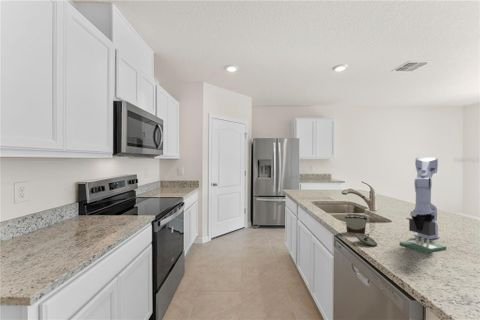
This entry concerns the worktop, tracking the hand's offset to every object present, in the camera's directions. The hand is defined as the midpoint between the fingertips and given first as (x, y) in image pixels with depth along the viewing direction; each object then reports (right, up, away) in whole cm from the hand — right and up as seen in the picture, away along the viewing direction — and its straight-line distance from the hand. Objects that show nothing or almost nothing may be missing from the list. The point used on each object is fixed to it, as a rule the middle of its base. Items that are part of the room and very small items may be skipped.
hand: (422, 229), depth 120 cm
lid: (-25, -9, +5) cm, 27 cm away
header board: (0, -8, 0) cm, 8 cm away
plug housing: (-1, -2, +1) cm, 2 cm away
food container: (-22, -8, +24) cm, 34 cm away
